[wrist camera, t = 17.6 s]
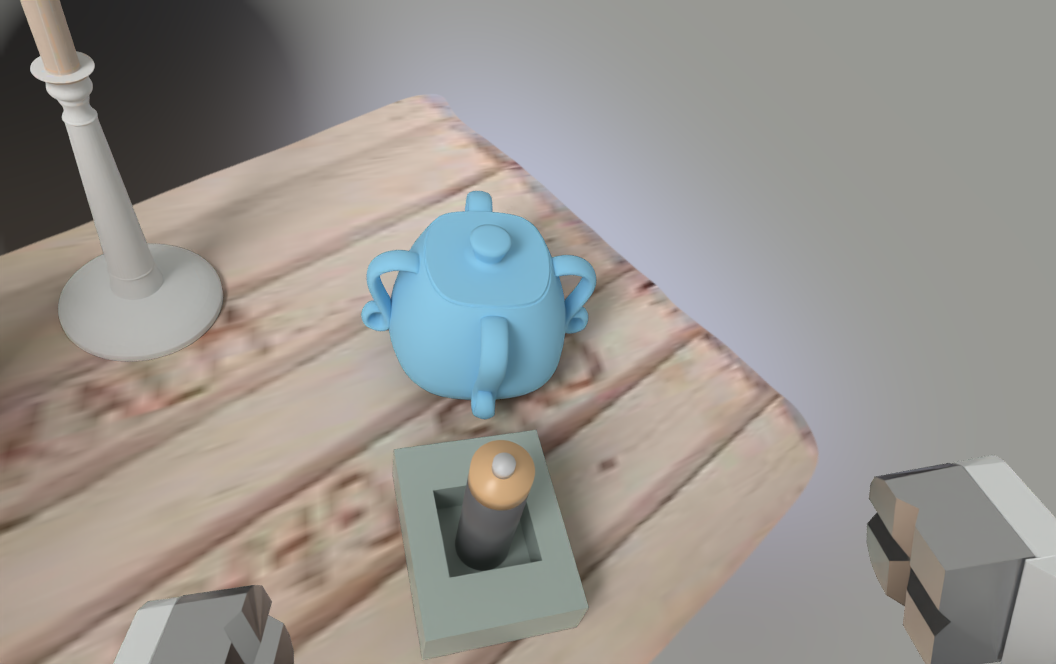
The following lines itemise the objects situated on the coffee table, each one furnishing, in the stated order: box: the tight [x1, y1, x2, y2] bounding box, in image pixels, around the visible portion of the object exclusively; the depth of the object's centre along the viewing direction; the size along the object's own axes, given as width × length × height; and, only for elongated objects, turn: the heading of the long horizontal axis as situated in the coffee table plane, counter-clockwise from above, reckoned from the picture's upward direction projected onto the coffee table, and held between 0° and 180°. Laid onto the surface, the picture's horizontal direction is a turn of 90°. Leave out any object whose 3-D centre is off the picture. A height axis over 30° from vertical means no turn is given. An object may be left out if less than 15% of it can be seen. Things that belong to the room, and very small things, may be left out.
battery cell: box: [455, 440, 535, 571], centre depth 51 cm, size 4×4×13 cm
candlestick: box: [20, 0, 223, 361], centre depth 55 cm, size 13×13×30 cm
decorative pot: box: [361, 191, 596, 419], centre depth 64 cm, size 16×16×14 cm
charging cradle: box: [393, 430, 589, 660], centre depth 56 cm, size 11×14×4 cm
